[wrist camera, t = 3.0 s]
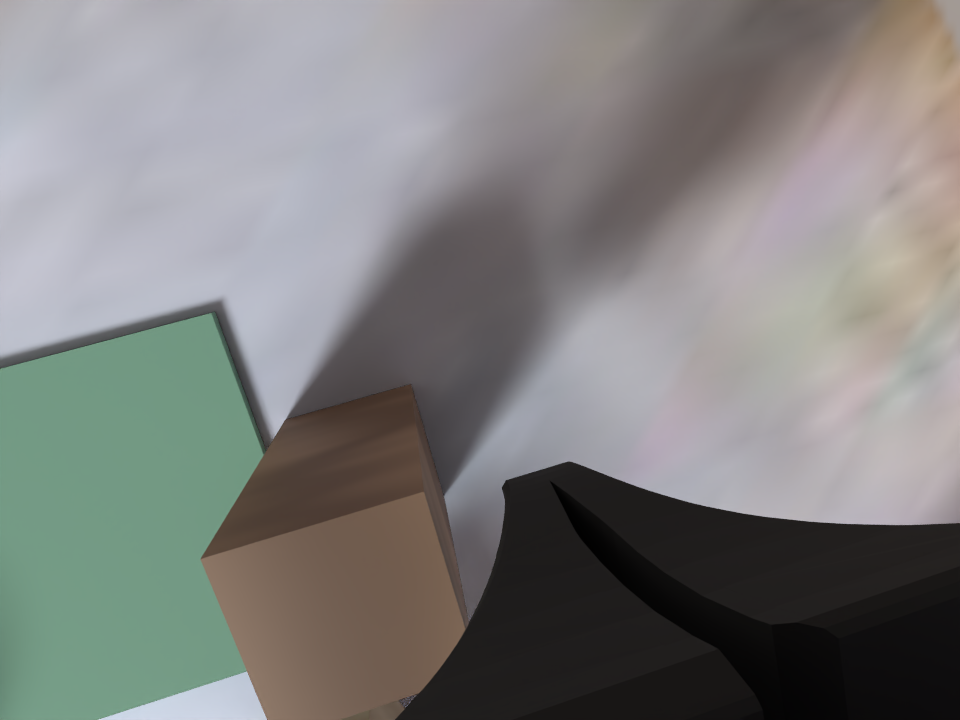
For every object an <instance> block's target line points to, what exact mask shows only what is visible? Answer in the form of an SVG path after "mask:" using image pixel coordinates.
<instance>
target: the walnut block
mask: <svg viewBox="0 0 960 720" xmlns="http://www.w3.org/2000/svg"><path fill="white" fill-rule="evenodd" d="M200 560H201V562H202V564H203V567H204V569H205V572H206V574H207V576H208V579H209V581H210V584H211V586H212V588H213V591H214V593H215V596H216V598H217V600H218V603H219V605H220V608H221V610H222V612H223V615H224V617H225V620H226V622H227V624H228V627H229V629H230V632H231V634H232V636H233V639H234V641H235V644H236V646H237V648H238V651H239V653H240V656H241V658H242V660H243V663H244V665H245V668H246V670H247V672H248V675H249V677H250V680H251V682H252V684H253V687H254V689H255V692H256V694H257V696H258V699H259V701H260V704H261V706H262V708H263V711H264V713H265V716H266V718H267V720H341V719H344V718H347V717H350V716H352V715H355V714H358V713H361V712H364V711H367V710H370V709H373V708H376V707H379V706H382V705H385V704H388V703H391V702H394V701H397V700H400V699H403V698H406V697H409V696H412V695H415V694H418V693H420V692H421V691H422V690H423V688H424V687H425V686H426V685H427V684H428V683H429V681H430V680H431V679H432V678H433V676H434V675H435V674H436V673H437V671H438V670H439V669H440V667H441V666H442V665H443V663H444V662H445V661H446V659H447V658H448V656H449V655H450V653H451V652H452V650H453V649H454V648H455V646H456V645H457V643H458V641H459V640H460V638H461V637H462V635H463V633H464V631H465V630H466V628H467V626H468V624H469V621H468V616H467V611H466V606H465V601H464V596H463V591H462V586H461V581H460V575H459V570H458V565H457V560H456V555H455V550H454V545H453V540H452V535H451V530H450V525H449V520H448V515H447V510H446V504H445V499H444V495H443V492H442V488H441V485H440V481H439V478H438V475H437V471H436V468H435V464H434V461H433V457H432V454H431V451H430V447H429V444H428V440H427V437H426V434H425V430H424V427H423V423H422V420H421V417H420V413H419V410H418V406H417V403H416V400H415V396H414V393H413V389H412V386H411V384H409V385H406V386H402V387H399V388H395V389H392V390H388V391H385V392H381V393H378V394H374V395H371V396H367V397H363V398H360V399H356V400H353V401H349V402H346V403H342V404H339V405H335V406H332V407H328V408H325V409H321V410H318V411H314V412H311V413H307V414H304V415H300V416H297V417H293V418H290V419H286V420H285V421H284V423H283V425H282V426H281V428H280V430H279V431H278V433H277V434H276V436H275V438H274V439H273V441H272V443H271V444H270V446H269V448H268V449H267V451H266V452H265V454H264V456H263V457H262V459H261V461H260V462H259V464H258V465H257V467H256V469H255V470H254V472H253V474H252V475H251V477H250V479H249V480H248V482H247V483H246V485H245V487H244V488H243V490H242V492H241V493H240V495H239V497H238V498H237V500H236V501H235V503H234V505H233V506H232V508H231V510H230V511H229V513H228V515H227V516H226V518H225V519H224V521H223V523H222V524H221V526H220V528H219V529H218V531H217V533H216V534H215V536H214V537H213V539H212V541H211V542H210V544H209V546H208V547H207V549H206V551H205V552H204V554H203V555H202V557H201V559H200Z"/></svg>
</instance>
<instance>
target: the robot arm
mask: <svg viewBox="0 0 960 720" xmlns="http://www.w3.org/2000/svg"><path fill="white" fill-rule="evenodd" d="M502 490H503V494H504V498H505V514H504V521H503V529H502V535H501V540H500V544H499V547H498V551H497V555H496V559H495V563H494V566H493V569H492V572H491V575H490V578H489V581H488V583H487V586H486V588H485V591H484V593H483V595H482V598H481V600H480V602H479V604H478V606H477V608H476V610H475V612H474V614H473V616H472V618H471V620H470V622H469V624H468V626H467V628H466V630H465V631H464V633H463V635H462V637H461V638H460V640H459V641H458V643H457V645H456V646H455V648H454V649H453V650H452V652H451V653H450V655H449V656H448V658H447V659H446V661H445V662H444V663H443V665H442V666H441V667H440V669H439V670H438V671H437V673H436V674H435V675H434V676H433V678H432V679H431V680H430V681H429V683H428V684H427V685H426V686H425V687H424V688H423V690H422V691H421V692H420V693H419V694H418V695H417V696H416V697H415V698H414V699H413V700H412V702H411V703H410V704H409V705H408V706H407V707H406V708H405V709H404V710H403V711H402V712H401V714H400V715H399V716H398V717H397V718H396V719H395V720H960V523H955V524H929V525H863V524H836V523H820V522H807V521H797V520H788V519H779V518H769V517H762V516H755V515H748V514H742V513H736V512H731V511H726V510H721V509H716V508H711V507H706V506H702V505H697V504H693V503H689V502H685V501H682V500H678V499H675V498H671V497H668V496H664V495H661V494H658V493H654V492H651V491H648V490H645V489H642V488H639V487H637V486H634V485H631V484H628V483H625V482H623V481H620V480H617V479H615V478H612V477H609V476H607V475H604V474H602V473H599V472H597V471H594V470H592V469H589V468H587V467H584V466H581V465H579V464H576V463H573V462H565V463H562V464H559V465H555V466H552V467H549V468H546V469H542V470H539V471H536V472H532V473H529V474H526V475H522V476H519V477H516V478H513V479H509V480H506V482H505V483H504V485H503V487H502Z"/></svg>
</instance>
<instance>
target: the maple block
mask: <svg viewBox="0 0 960 720" xmlns="http://www.w3.org/2000/svg"><path fill="white" fill-rule="evenodd" d="M404 709H405V708H404V707H403V706H402V704H401V703H400V702H399V700H397V701H394V702H391V703H388V704H385V705H382V706H379V707H376V708H373V709H370V710H367V711H364V712H361V713H358V714H355V715H352V716H350V717H347V718H344V719H341V720H395V719H396V718H397V717H398V716H399V715H400V714H401V712H402V711H403V710H404Z"/></svg>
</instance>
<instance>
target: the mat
mask: <svg viewBox="0 0 960 720" xmlns="http://www.w3.org/2000/svg"><path fill="white" fill-rule="evenodd" d="M265 452H266V450H265V447H264V444H263V441H262V439H261V436H260V433H259V431H258V428H257V425H256V422H255V420H254V417H253V414H252V412H251V409H250V406H249V403H248V401H247V398H246V395H245V392H244V390H243V387H242V384H241V382H240V379H239V376H238V373H237V371H236V368H235V365H234V363H233V360H232V357H231V354H230V352H229V349H228V346H227V344H226V341H225V338H224V335H223V333H222V330H221V327H220V325H219V322H218V319H217V316H216V314H215V312H212V313H208V314H204V315H201V316H197V317H193V318H189V319H186V320H182V321H178V322H174V323H170V324H167V325H163V326H159V327H155V328H152V329H148V330H144V331H140V332H136V333H133V334H129V335H125V336H121V337H118V338H114V339H110V340H106V341H102V342H99V343H95V344H91V345H87V346H84V347H80V348H76V349H72V350H68V351H65V352H61V353H57V354H53V355H50V356H46V357H42V358H38V359H34V360H31V361H27V362H23V363H19V364H16V365H12V366H8V367H4V368H0V720H98V719H101V718H104V717H107V716H110V715H113V714H116V713H120V712H123V711H126V710H129V709H132V708H135V707H138V706H141V705H144V704H147V703H151V702H154V701H157V700H160V699H163V698H166V697H169V696H172V695H175V694H178V693H181V692H185V691H188V690H191V689H194V688H197V687H200V686H203V685H206V684H209V683H212V682H215V681H219V680H222V679H225V678H228V677H231V676H234V675H237V674H240V673H243V672H246V671H247V670H246V668H245V665H244V663H243V660H242V658H241V656H240V653H239V651H238V648H237V646H236V644H235V641H234V639H233V636H232V634H231V632H230V629H229V627H228V624H227V622H226V620H225V617H224V615H223V612H222V610H221V608H220V605H219V603H218V600H217V598H216V596H215V593H214V591H213V588H212V586H211V584H210V581H209V579H208V576H207V574H206V572H205V569H204V567H203V564H202V562H201V560H200V559H201V557H202V555H203V554H204V552H205V551H206V549H207V547H208V546H209V544H210V542H211V541H212V539H213V537H214V536H215V534H216V533H217V531H218V529H219V528H220V526H221V524H222V523H223V521H224V519H225V518H226V516H227V515H228V513H229V511H230V510H231V508H232V506H233V505H234V503H235V501H236V500H237V498H238V497H239V495H240V493H241V492H242V490H243V488H244V487H245V485H246V483H247V482H248V480H249V479H250V477H251V475H252V474H253V472H254V470H255V469H256V467H257V465H258V464H259V462H260V461H261V459H262V457H263V456H264V454H265Z"/></svg>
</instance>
